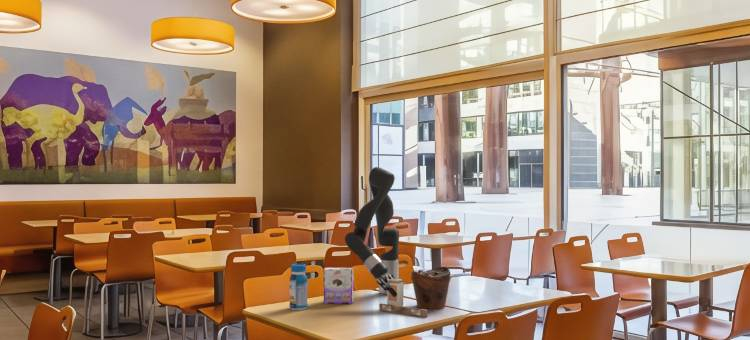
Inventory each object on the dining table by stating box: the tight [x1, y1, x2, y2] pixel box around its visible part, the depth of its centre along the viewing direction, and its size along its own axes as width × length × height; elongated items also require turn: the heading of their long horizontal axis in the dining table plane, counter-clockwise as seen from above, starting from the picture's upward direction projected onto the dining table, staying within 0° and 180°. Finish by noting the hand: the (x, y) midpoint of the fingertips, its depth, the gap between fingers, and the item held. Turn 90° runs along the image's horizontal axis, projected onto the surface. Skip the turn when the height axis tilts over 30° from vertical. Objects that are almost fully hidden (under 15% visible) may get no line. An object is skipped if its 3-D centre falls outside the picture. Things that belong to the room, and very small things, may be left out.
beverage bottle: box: [288, 263, 309, 311], centre depth 294 cm, size 8×8×20 cm
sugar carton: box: [386, 278, 405, 307], centre depth 293 cm, size 6×6×12 cm
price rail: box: [378, 303, 429, 318], centre depth 283 cm, size 24×2×3 cm, turn 56°
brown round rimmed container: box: [410, 266, 451, 310], centre depth 299 cm, size 18×20×18 cm
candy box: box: [322, 267, 354, 305], centre depth 308 cm, size 14×6×16 cm, turn 84°
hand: (398, 294), depth 293 cm, fingers closed on sugar carton, 5 cm apart
